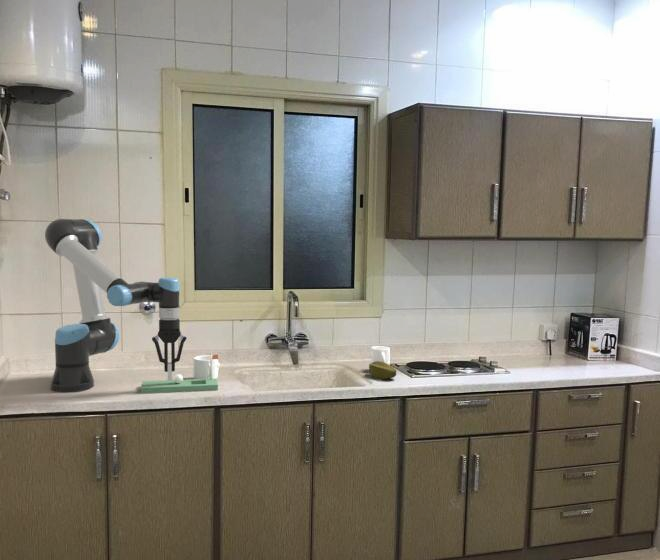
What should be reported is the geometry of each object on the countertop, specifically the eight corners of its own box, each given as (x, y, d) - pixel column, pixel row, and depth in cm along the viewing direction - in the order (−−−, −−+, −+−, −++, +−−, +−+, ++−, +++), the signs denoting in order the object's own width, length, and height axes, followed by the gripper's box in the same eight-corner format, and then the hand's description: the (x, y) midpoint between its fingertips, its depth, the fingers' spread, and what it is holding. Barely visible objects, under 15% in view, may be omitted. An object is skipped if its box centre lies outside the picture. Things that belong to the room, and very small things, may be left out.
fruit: (369, 380, 248) (369, 364, 248) (368, 373, 260) (368, 358, 260) (396, 381, 248) (397, 365, 247) (394, 374, 260) (395, 359, 259)
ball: (183, 375, 227) (182, 384, 227) (183, 373, 231) (182, 382, 231) (173, 375, 226) (172, 384, 227) (173, 372, 230) (173, 381, 230)
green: (141, 393, 221) (140, 361, 220) (142, 386, 230) (142, 355, 229) (219, 389, 228) (219, 359, 227) (217, 383, 238) (217, 353, 237)
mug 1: (224, 382, 240) (224, 360, 239) (198, 385, 235) (198, 362, 234) (215, 375, 250) (215, 354, 249) (191, 378, 245) (191, 356, 245)
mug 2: (392, 374, 259) (393, 351, 258) (373, 374, 258) (374, 351, 257) (387, 368, 271) (388, 346, 270) (369, 368, 270) (370, 346, 269)
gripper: (150, 320, 221) (151, 383, 222) (187, 319, 224) (187, 381, 226) (151, 317, 228) (152, 378, 230) (186, 316, 231) (187, 376, 233)
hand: (169, 379), depth 228 cm, fingers closed
